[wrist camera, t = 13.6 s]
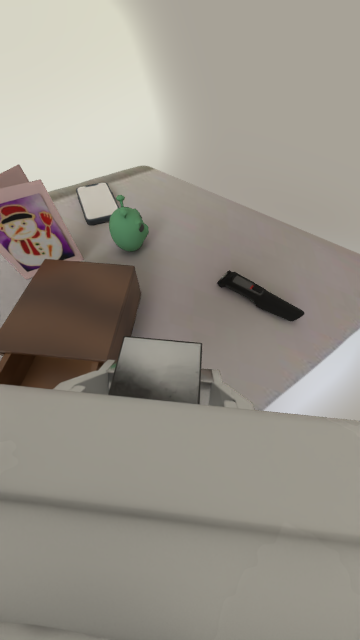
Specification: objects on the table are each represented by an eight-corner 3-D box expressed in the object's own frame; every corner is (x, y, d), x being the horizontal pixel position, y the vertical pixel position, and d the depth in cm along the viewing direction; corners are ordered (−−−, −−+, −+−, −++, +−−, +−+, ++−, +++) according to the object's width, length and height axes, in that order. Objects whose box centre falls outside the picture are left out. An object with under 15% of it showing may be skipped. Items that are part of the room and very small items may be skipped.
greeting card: (26, 282, 38) (-53, 203, 25) (21, 258, 41) (-52, 178, 28) (84, 262, 41) (41, 182, 28) (75, 241, 44) (33, 161, 31)
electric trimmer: (290, 330, 33) (300, 321, 31) (215, 285, 38) (218, 274, 35) (298, 315, 35) (308, 305, 32) (225, 274, 39) (229, 262, 37)
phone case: (123, 219, 49) (108, 187, 56) (122, 213, 47) (106, 181, 54) (88, 227, 47) (77, 193, 54) (85, 221, 45) (74, 187, 52)
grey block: (188, 423, 17) (199, 415, 9) (138, 418, 17) (104, 405, 9) (191, 380, 19) (202, 341, 11) (146, 376, 19) (123, 334, 11)
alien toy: (153, 255, 42) (147, 209, 33) (117, 261, 41) (102, 215, 32) (147, 235, 45) (141, 188, 37) (114, 240, 44) (99, 193, 36)
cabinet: (121, 376, 29) (106, 360, 23) (26, 366, 29) (-13, 349, 23) (141, 293, 37) (134, 265, 30) (66, 287, 37) (44, 258, 31)
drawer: (79, 512, 21) (51, 535, 16) (-40, 497, 21) (-101, 515, 16) (122, 349, 30) (112, 334, 25) (38, 341, 30) (13, 325, 26)
